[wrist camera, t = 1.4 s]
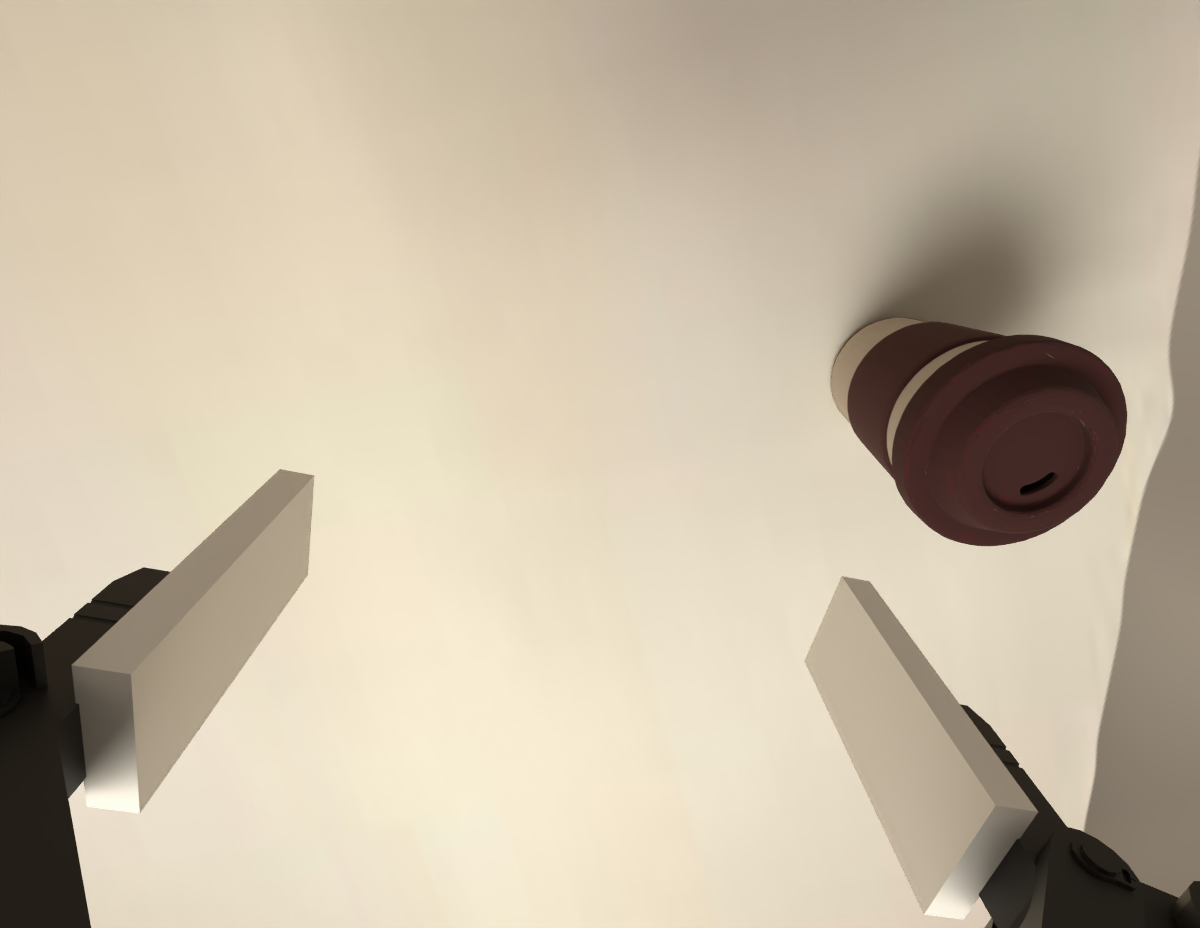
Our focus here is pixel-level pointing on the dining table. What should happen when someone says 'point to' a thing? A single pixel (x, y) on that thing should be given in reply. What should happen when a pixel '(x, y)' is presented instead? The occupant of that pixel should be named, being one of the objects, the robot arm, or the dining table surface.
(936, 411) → the coffee cup
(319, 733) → the dining table surface
